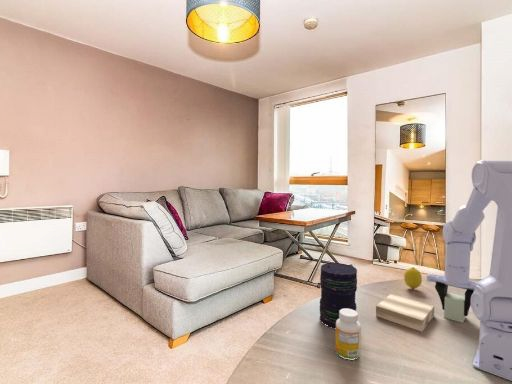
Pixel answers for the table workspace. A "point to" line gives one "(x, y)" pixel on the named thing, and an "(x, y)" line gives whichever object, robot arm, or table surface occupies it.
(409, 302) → the birch plinth
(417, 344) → the table surface
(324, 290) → the storage jar
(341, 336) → the supplement bottle
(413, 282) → the lemon
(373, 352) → the table surface
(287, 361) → the table surface
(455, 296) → the sage block
